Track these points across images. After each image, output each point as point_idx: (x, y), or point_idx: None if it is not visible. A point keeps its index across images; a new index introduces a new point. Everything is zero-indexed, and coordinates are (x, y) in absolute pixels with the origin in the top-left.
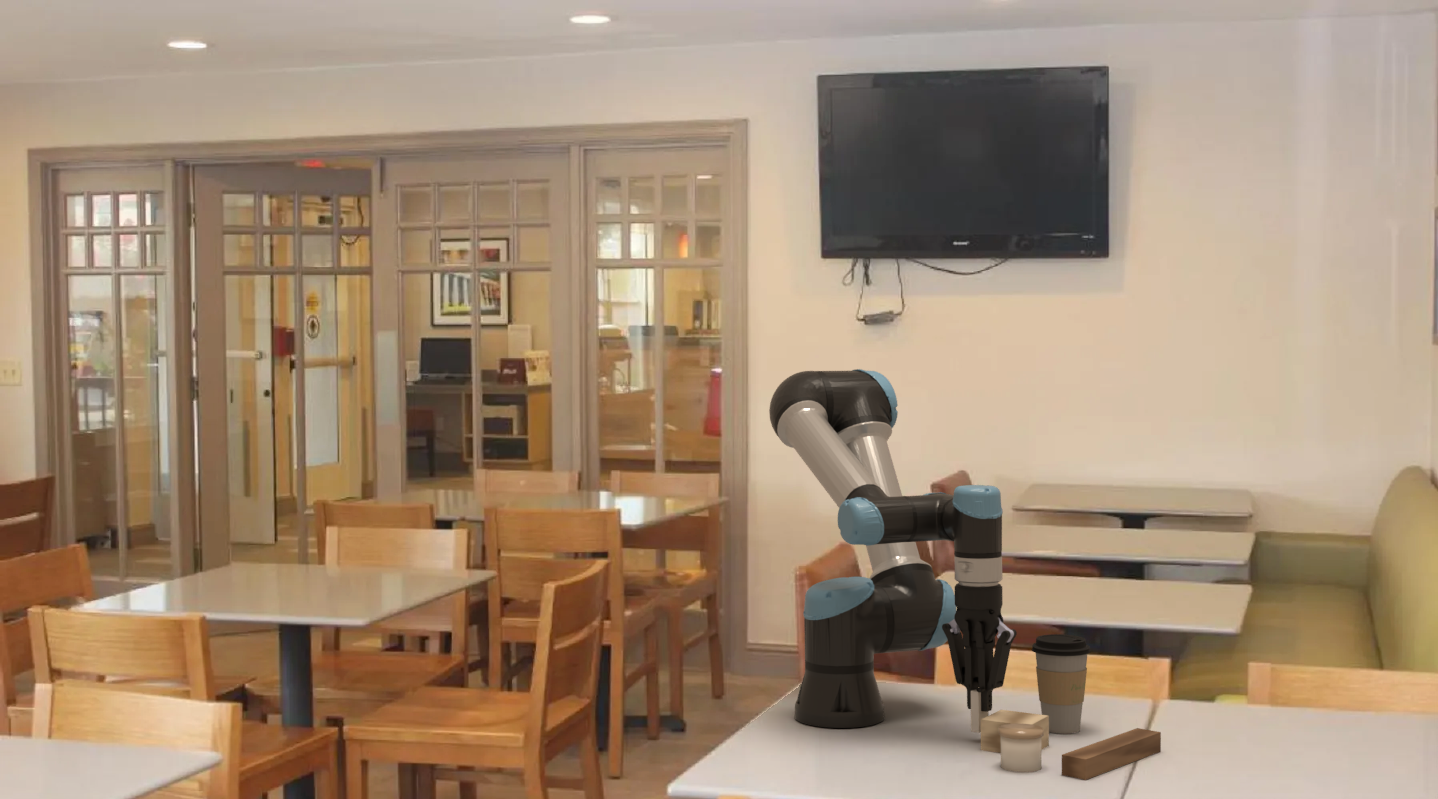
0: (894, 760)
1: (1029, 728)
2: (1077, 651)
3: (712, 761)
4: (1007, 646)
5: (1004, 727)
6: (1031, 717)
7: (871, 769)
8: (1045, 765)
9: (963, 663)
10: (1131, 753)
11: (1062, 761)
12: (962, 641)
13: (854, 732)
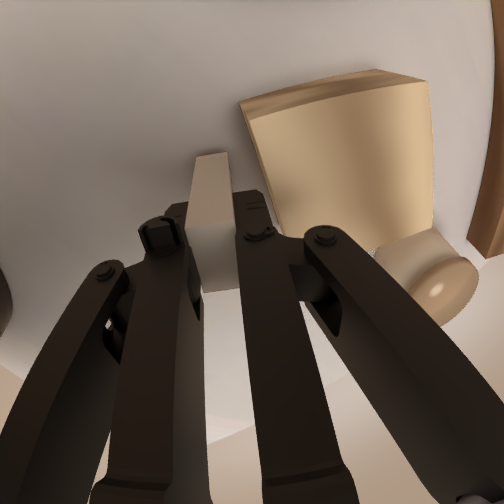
0: (223, 360)
1: (456, 289)
2: None
3: None
4: (491, 437)
5: None
6: (401, 141)
7: (240, 388)
8: (435, 213)
9: (102, 371)
10: None
11: (480, 252)
12: (29, 475)
13: (33, 310)
